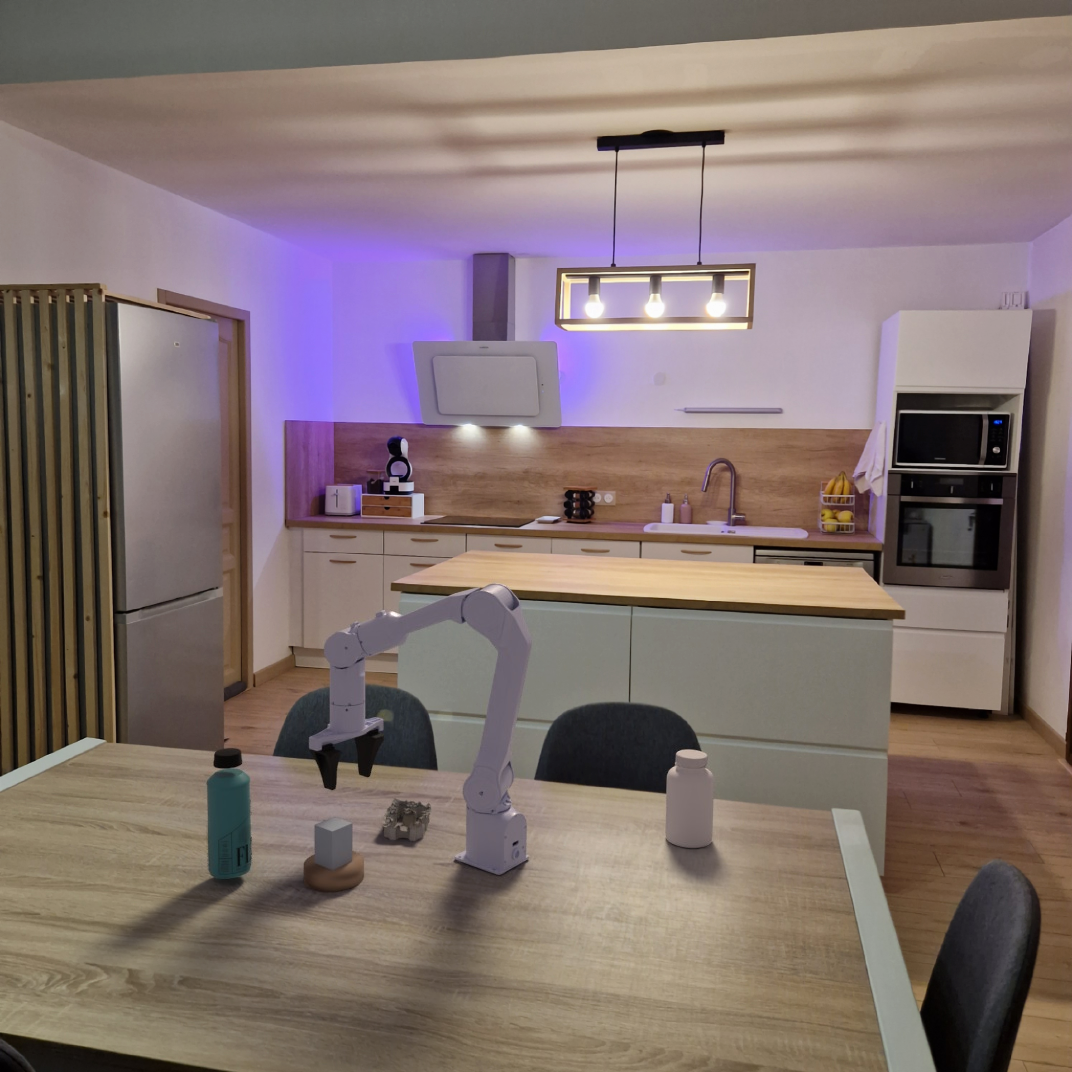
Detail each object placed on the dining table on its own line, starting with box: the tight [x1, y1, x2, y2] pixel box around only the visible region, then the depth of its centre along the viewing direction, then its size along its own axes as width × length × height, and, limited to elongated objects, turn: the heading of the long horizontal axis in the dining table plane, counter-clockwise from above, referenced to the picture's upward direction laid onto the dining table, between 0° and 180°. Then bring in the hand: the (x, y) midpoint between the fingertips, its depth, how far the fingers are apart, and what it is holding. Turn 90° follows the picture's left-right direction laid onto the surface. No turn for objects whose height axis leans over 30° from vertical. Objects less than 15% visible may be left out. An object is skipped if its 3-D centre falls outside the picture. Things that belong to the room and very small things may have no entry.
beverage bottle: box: [205, 747, 253, 880], centre depth 140 cm, size 6×7×20 cm
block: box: [313, 816, 354, 870], centre depth 141 cm, size 4×4×6 cm
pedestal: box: [303, 850, 365, 893], centre depth 142 cm, size 9×9×2 cm
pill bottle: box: [664, 749, 715, 849], centre depth 158 cm, size 8×8×15 cm
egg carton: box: [381, 798, 432, 842], centre depth 161 cm, size 11×8×4 cm
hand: (347, 782), depth 154 cm, fingers open, 7 cm apart
